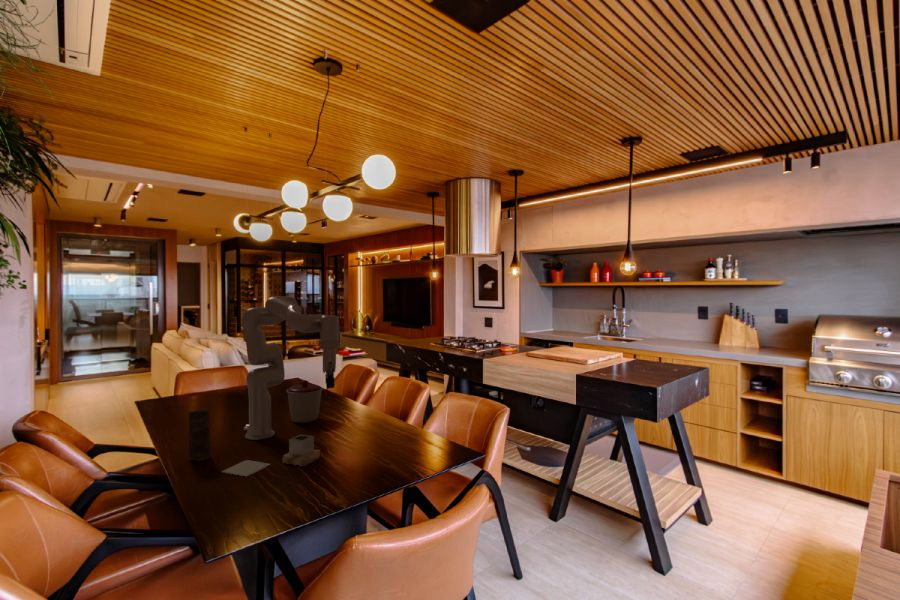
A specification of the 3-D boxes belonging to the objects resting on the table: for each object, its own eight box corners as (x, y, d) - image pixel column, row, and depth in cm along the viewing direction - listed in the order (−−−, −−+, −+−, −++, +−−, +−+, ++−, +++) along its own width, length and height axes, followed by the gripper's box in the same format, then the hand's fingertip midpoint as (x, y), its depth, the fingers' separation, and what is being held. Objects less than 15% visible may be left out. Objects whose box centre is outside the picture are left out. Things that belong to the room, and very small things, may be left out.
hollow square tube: (289, 454, 169) (289, 439, 169) (300, 449, 176) (300, 434, 176) (303, 456, 167) (303, 441, 167) (313, 451, 173) (313, 436, 173)
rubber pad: (221, 472, 159) (221, 471, 159) (246, 460, 171) (246, 459, 171) (246, 477, 155) (246, 476, 155) (270, 465, 167) (270, 463, 167)
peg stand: (282, 463, 168) (282, 442, 168) (299, 454, 178) (299, 435, 178) (303, 466, 165) (303, 445, 165) (320, 457, 174) (320, 437, 174)
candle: (187, 464, 167) (187, 412, 167) (189, 457, 174) (189, 408, 174) (210, 460, 171) (210, 410, 171) (210, 454, 177) (210, 406, 177)
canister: (308, 413, 239) (308, 375, 239) (329, 419, 229) (329, 379, 228) (279, 421, 224) (279, 381, 224) (300, 427, 214) (300, 385, 214)
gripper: (319, 343, 188) (320, 382, 188) (320, 347, 171) (321, 390, 171) (337, 342, 190) (337, 381, 190) (340, 346, 173) (340, 389, 173)
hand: (329, 385), depth 181 cm, fingers open, 9 cm apart
